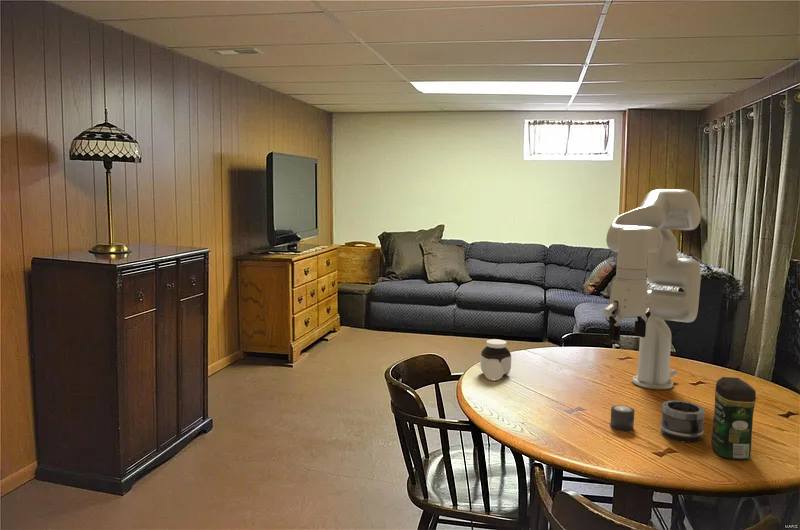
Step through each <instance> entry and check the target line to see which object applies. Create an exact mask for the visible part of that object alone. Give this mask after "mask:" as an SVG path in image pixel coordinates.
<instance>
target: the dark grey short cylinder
mask: <svg viewBox="0 0 800 530" xmlns="http://www.w3.org/2000/svg"><path fill="white" fill-rule="evenodd" d="M609 420H610V421H609V427H610V428H612V429H613V430H616V431H620V432H631V431H633V430H634V424H635V409H634V408H632V407H630V406H627V405H619V404H618V405H613V406H611V408H610V419H609Z"/></svg>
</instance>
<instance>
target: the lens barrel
mask: <svg viewBox="0 0 800 530" xmlns="http://www.w3.org/2000/svg"><path fill="white" fill-rule="evenodd" d="M705 410H706V409H705V408H704V407H702V406H701V405H700V404H697V403H694V402H691V401H685V400H680V399H679V400H677V399H675V400H673V399H671V400H666V401H663V402H662V404H661V422H660V425H659V427H660V433H661V434H662V436H664V437H666V438H667V437H668V439H670V440H672V439H673V440H674V441H676V440H677V442H681V441H684V442H683V443H697V441H698V442H700V440H701V441H702V439H703V435H704V431H705V430H704V418H705V414H706V413H705Z"/></svg>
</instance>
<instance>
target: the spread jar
mask: <svg viewBox="0 0 800 530" xmlns="http://www.w3.org/2000/svg"><path fill="white" fill-rule="evenodd" d="M479 362H480V369H481V371H482V372H483V374H484V377H486V379H487V380H489V381H494V382H495V381H498V380H501V378H504V377H506V376H507V375H508V374H509V373H510V372H511V369H512V353H511V352H510V350H509V349H508V348H507V341H505V340H503V339H497V338H493V339H488V340H486V346H484V348H483V349H482V351H481V352H480V361H479ZM503 376H504V377H503ZM492 379H493V380H492ZM494 379H495V380H494Z"/></svg>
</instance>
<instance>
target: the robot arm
mask: <svg viewBox="0 0 800 530" xmlns="http://www.w3.org/2000/svg"><path fill="white" fill-rule="evenodd" d="M701 213H702V212H701V209H700V205H699V202H698V199H697V197H696V195H695V194H694V193H693V191H691V190H689V189H679V188H678V189H676V188H675V189H674V188H671V189H669V188H657V189H653V190H651V191H649V192H647V194H645V196H644V198H643V199H642V201H641V203H640V205H639V206H638V207H637V208H635V209H632V210H630V211H627V212H625V213H622V214H620V215H618V216H617V217H615V218H614V220H613V221H612V223H611V224H610V226H609V228H608V230H607V233H606V237H605V238H606V239H605V240H606V241H605V242H606V245H607V247H608V249H609V250H611V251H612V252H614V253H617V257H616V270H615V272H616V273H615V279H613V281H612V285H611V289H610V296H609V303H608V306H606V307H605V308H604V309H603V312H604V317H605V320H606V321H607V324H608V325H609V327H608V328H609V329H608V339H609V340H610V341H611V340H612V341H616V342H619V341H620V340H621V326H620V324H621V322H622V321H623V319H632V318H635V319H636V320H634V331H633V332H634V333H633V335H635V336H637V337H639V347H638V348H639V349H638V363H637V374H636V375H634V376H632V380H631V381H632V383H634V384H635V385H636V386H639V387H642V388H645V389H650V390H669V389H672V388H673V387H674V382H673V380H671V377H673V376H677V375H678V371H677V370H676V369H671V370H670V361H671V348H672V347H671V346H672V331H671V329H670V327H669V326H668V323H666V321H673V322H681V323H693V322H694V321H696V318H697V317H698V312H699V303H700V292H701V291H700V290H701V281H702V280H701V279H702V269H701V264H700V263H699V261H698V260H696V259H695V258H687V257H678V246H679V245H678V244H679V242H678V240H677V237H676V236H675V235H674V233H673V232H672V231H671V230H675V231H677V230H678V231H694V230H695V229H697V228H698V227H699V224H700V222H701V218H702V217H701ZM648 282H649V283H650V284H651V285H654V286H661V287H670V288H671V287H672V288H679V289H680V288H681V289H682V290H683V291H676V290H667V289H655V288H654V289H648Z"/></svg>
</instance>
